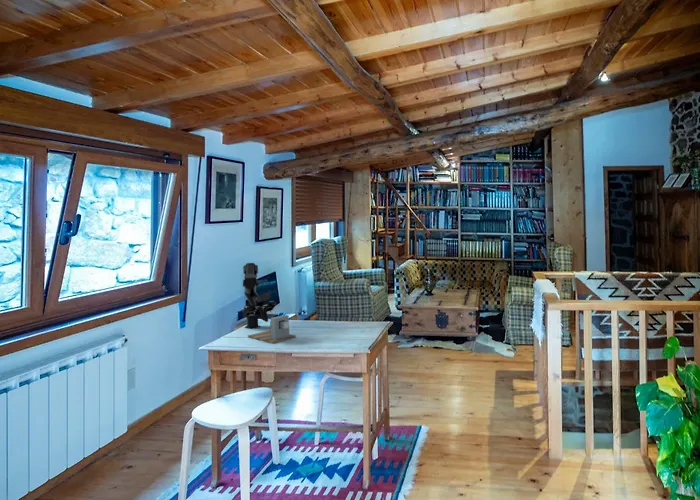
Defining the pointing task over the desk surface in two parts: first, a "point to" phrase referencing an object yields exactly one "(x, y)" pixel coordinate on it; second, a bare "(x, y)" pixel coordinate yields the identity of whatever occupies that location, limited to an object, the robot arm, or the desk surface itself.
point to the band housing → (275, 330)
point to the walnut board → (268, 337)
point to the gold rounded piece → (283, 324)
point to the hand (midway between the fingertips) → (267, 321)
